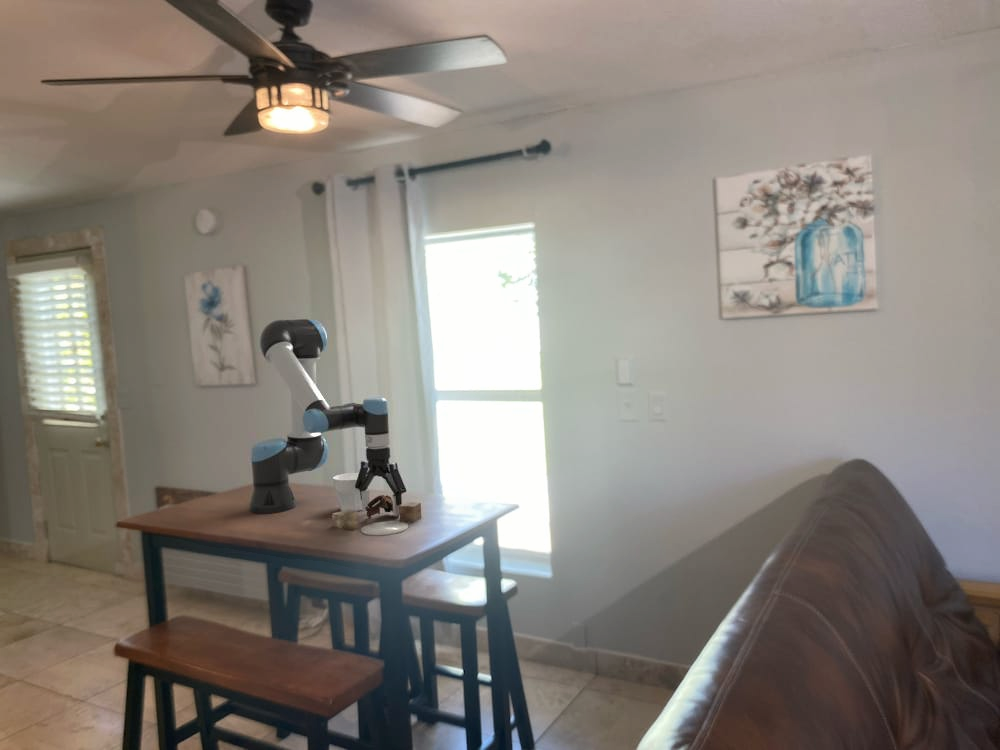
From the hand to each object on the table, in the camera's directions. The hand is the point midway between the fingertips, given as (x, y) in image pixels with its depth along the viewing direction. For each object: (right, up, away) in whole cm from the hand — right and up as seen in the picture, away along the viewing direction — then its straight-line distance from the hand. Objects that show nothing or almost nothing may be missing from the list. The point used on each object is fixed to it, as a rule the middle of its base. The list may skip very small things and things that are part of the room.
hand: (381, 512), depth 232 cm
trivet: (+3, -2, -14) cm, 15 cm away
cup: (-12, -1, +13) cm, 18 cm away
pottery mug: (+1, -2, 0) cm, 2 cm away
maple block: (-10, -2, -7) cm, 13 cm away
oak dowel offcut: (-7, -2, -12) cm, 14 cm away
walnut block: (+10, -1, -5) cm, 11 cm away
